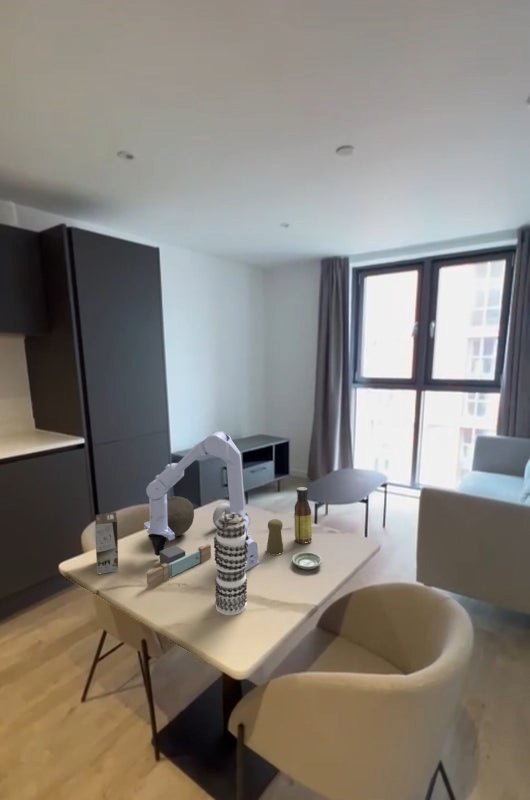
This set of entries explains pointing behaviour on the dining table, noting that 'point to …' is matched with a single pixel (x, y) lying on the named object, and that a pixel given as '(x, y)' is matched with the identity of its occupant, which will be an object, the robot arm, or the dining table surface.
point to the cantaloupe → (179, 514)
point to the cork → (275, 537)
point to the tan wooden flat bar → (162, 572)
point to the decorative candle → (231, 564)
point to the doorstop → (171, 554)
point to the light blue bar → (184, 563)
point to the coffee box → (106, 542)
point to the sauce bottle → (302, 517)
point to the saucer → (306, 560)
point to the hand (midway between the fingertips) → (159, 554)
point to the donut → (220, 511)
